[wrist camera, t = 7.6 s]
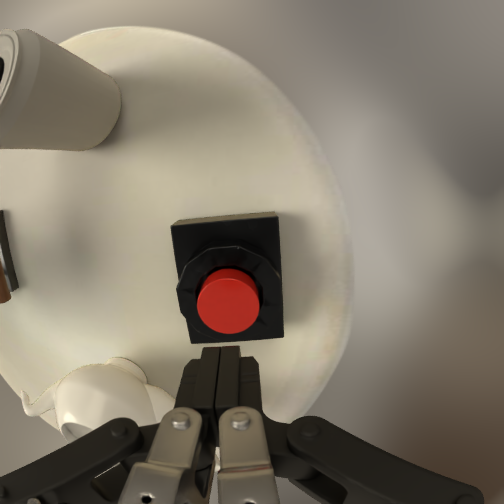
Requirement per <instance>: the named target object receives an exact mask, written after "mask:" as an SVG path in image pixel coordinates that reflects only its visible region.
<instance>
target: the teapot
mask: <svg viewBox="0 0 504 504" xmlns="http://www.w3.org/2000/svg"><path fill="white" fill-rule="evenodd" d="M20 393H21V399H22V404H23V408H24V411H25V413H26V414H27V415H28V416H30V417H36V416H39V415H41V414H43V413H45V412H46V411H48V410H51V409H55V414H56V420H57V424H58V427H59V430H60V432H61V433H62V435H63V437H64V438H65V439H66V441H67V442H68V443H71V442H73V441H75V440H77V439H79V438H80V437H82V436H84V435H86V434H88V433H89V432H91V431H93V430H95V429H96V428H98V427H100V426H102V425H103V424H105V423H107V422H108V421H110V420H112V419H115V418H119V417H126V418H130V419H132V420H134V421H135V422H136V423H137V425H138V427H140V426H146V425H152V424H157V423H159V422H161V420H162V418H163V416H164V415H165V414H166V413H167V412H169V411H170V410H172V409H173V408H174V405H175V401H176V399H174V398H173V397H172V396H171V395H170V394H168V393H167V392H166V391H164V390H163V389H161V388H158V387H156V386H152V385H148V384H147V378H146V376H145V374H144V372H143V371H142V370H141V369H140V368H139V367H138V366H137V365H136V364H134V363H133V362H131V361H129V360H126V359H123V358H110V359H108V360H107V361H106V362H105V364H90V365H86V366H82V367H80V368H77V369H75V370H73V371H72V372H70V373H69V374H67V375H66V376H65V377H64V378H62V379H60V380H59V381H57V382H56V383H54V384H53V385H52V386H50V387H49V388H48V389H46V390H45V391H44V392H43V393H42V394H41V395H40V397H39V398H38V399H37V400H36V401H35V403H33V404H32V405H30V401H29V396H28V395H27V394H26V393H25V392H24V391H22V390H21V391H20ZM215 460H216V465H215V471H214V473H215V472H218V470H220V460H219V458H218V457H217V455H216V453H215ZM119 463H120V462H119ZM119 463H118V464H119ZM118 464H116V465H118ZM116 465H114V466H116Z"/></svg>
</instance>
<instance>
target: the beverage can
mask: <svg viewBox="0 0 504 504" xmlns="http://www.w3.org/2000/svg"><path fill="white" fill-rule="evenodd" d="M120 109H121V94H120V90H119V87H118V85H117V83H116V82H115V81H114V80H113V79H112V78H111V77H110V76H108V75H107V74H105V73H104V72H102V71H101V70H99V69H97V68H96V67H94V66H93V65H91V64H89V63H88V62H86V61H84V60H83V59H81V58H79V57H78V56H76V55H74V54H73V53H71V52H69V51H68V50H66V49H64V48H62V47H61V46H59V45H57V44H55V43H54V42H52V41H50V40H48V39H46V38H45V37H43V36H41V35H39V34H37V33H35V32H33V31H32V30H29V29H22V30H17V31H13V30H11V29H4V30H1V31H0V149H45V150H67V151H85V150H88V149H91V148H93V147H95V146H97V145H98V144H99V143H101V142H102V141H103V140H104V139H105V138H106V137H107V136H108V135H109V133H110V132H111V130H112V129H113V127H114V126H115V124H116V122H117V119H118V117H119V113H120Z"/></svg>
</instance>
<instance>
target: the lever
mask: <svg viewBox="0 0 504 504" xmlns="http://www.w3.org/2000/svg"><path fill="white" fill-rule="evenodd" d="M10 299H11V295H10V291H9V288H8V285H7V281H6V278H5V274H4V270H3V266H2V262H1V258H0V304H1V303H5V302H7V301H9V300H10Z"/></svg>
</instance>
